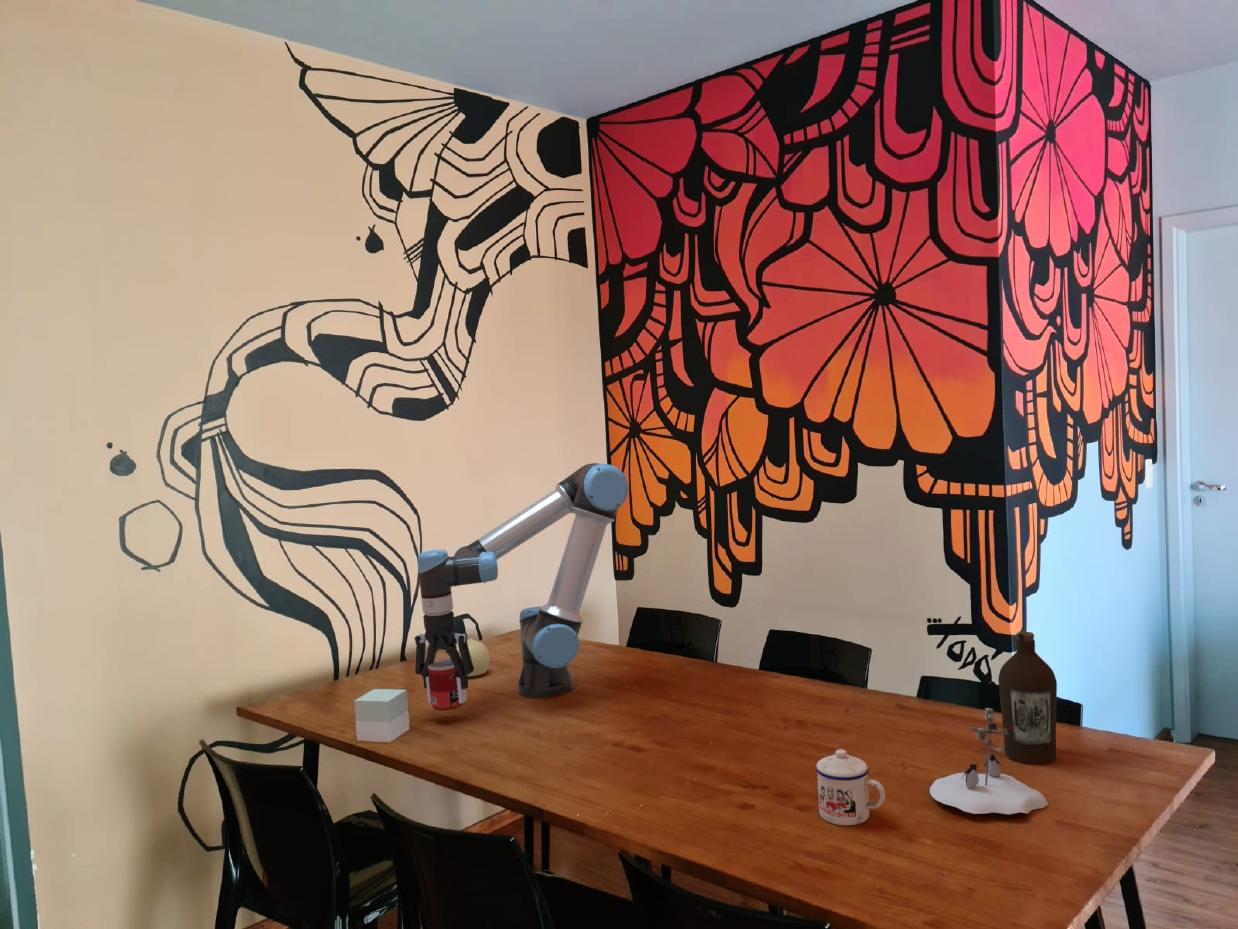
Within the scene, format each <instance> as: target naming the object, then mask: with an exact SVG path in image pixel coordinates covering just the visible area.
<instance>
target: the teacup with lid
mask: <svg viewBox="0 0 1238 929" xmlns="http://www.w3.org/2000/svg"><path fill="white" fill-rule="evenodd" d="M869 770H870V769H869V767H868V765H867V763H866V762H865V761H864V760H862V759H860V758H858V757H855V756H852V755H849V754H848V752H847V750H845V749H837V750H836V751H835V753H834V754H832V755H829V756H826V757H823V758H821V759H820V760H818V761H817V763H816V765H815V771H816V773H817V788H818V790H817V791H818V805H819V806H818V809H819V811H818V812H819V815H820V817H821V818H822V819H823V820H824V821H826V822H829V823H830V824H833V825H838V826H856V825H860V824H863V823H865V822H866V821H867V820H868V819H869V817H870V809H871V810H872V809H873V810H874V809H878V808H879V807H880V806H881V805H883V803H884V802H885V798H886V791H885V788H884V786H883V785H882V784H881V783H880V782H879V781H878V780H876V779H870V778H868V774H869ZM869 786H873V787H874V788H876V789H877V790H878V792H879V799H878V800H877V802H870V800H869V798H870V797H869Z"/></svg>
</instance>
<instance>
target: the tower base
mask: <svg viewBox="0 0 1238 929" xmlns="http://www.w3.org/2000/svg"><path fill="white" fill-rule="evenodd" d="M355 729H356V730H355V731H356V732H355V733H356V741H358V742H376V743H391V742H393V741H394V740H396V739H398V738H399V737H400V736H402V735H403V734H405V733H406V732H407V731H409V730H410V716H409V709H408V710H407V711H405V712H404V713H402V714H401V715H399V716H398V717H396V718H395V719H393V720H392V721H390V722H368V721H356V720H355Z"/></svg>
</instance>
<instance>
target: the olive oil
mask: <svg viewBox="0 0 1238 929" xmlns="http://www.w3.org/2000/svg"><path fill="white" fill-rule="evenodd" d="M997 679H998V688H999V689H998V690H999V691H998V692H999V700H1000V710H1001V719H1002V728H1003V729H1004V728H1006V730H1007V729H1008V728H1009V727H1011V726H1013V728H1012V729H1011V730H1007V732H1008V733H1009V734H1003V742H1004V743H1003V745H1004V746H1003V747H1004V755H1005V756H1006V757H1007V758H1008V759H1009V760H1012V761H1015V762H1017V763H1022V764H1026V765H1047V764H1051V763H1053V762H1055V761H1056V759H1057V697H1058V696H1057V695H1058V694H1057V693H1058V692H1057V691H1058V684H1057V683H1058V682H1057V678H1056V674H1055V673H1054V670H1053V669H1052V667H1051V666H1050V665H1049V664H1048V663H1046V661H1045V660H1043V659H1042V657H1041V656H1040V655H1038V653H1037V652H1036V640H1035V634H1034V633H1033V632H1031V631H1030V632H1029V631H1018V632H1017V633H1016V651H1015V653H1014V654H1013V655H1012V656H1011V657H1010V658H1009V659H1007V660H1006V662H1004V664H1002V666H1001V667H1000V671H999V672H998V678H997ZM1003 729H1002V730H1003Z"/></svg>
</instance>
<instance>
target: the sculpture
mask: <svg viewBox="0 0 1238 929" xmlns="http://www.w3.org/2000/svg"><path fill="white" fill-rule="evenodd" d="M455 644H456V646H457V651H458V653H459V655H460V657H461V654H460V651H459V647H458V643H457V642H456V643H455ZM467 644H468V648H469V652H470V656H471V660H472V663H473V667H474V671H473V672H471V673H470V674H468V675H467V678H468V677H469V678H470V677H475V676H480V675H483V674H485V673H486V672H487V671H488V670H489V666H490V662H491V656H490V651H489V650H488V647H487V646H486V645H485V644H484V643H483V642H480V641H478V640H475V639H473V638H467ZM447 657H448V659H451V658H450V656H449V654H448V656H447ZM461 659H462V658H461Z"/></svg>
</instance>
